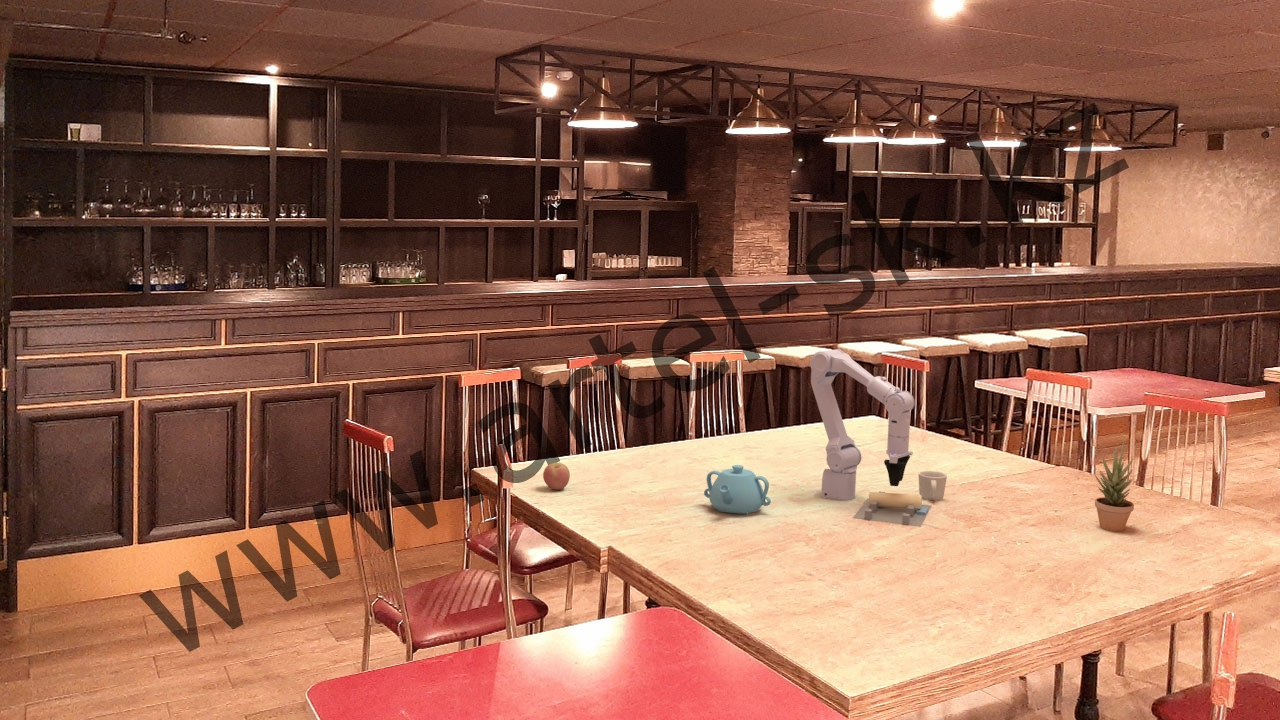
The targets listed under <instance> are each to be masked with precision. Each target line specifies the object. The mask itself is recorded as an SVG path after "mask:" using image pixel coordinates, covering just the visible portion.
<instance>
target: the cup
mask: <svg viewBox="0 0 1280 720" xmlns="http://www.w3.org/2000/svg"><path fill="white" fill-rule="evenodd" d="M947 478H948V475H947V474H946V473H944V472H942V471H938V470H937V471H935V470H922V471H919V472H918V488H919V489H918V490H919V491H918V492H919V494H918V495H921V496H922V500H925V501H926V500H927V501H941V502H942V501H943V500H944V496H945V490H946V484H947Z"/></svg>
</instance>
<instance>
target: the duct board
mask: <svg viewBox="0 0 1280 720" xmlns="http://www.w3.org/2000/svg"><path fill="white" fill-rule="evenodd" d="M878 492H880V493H886V491H878ZM931 508H932V505H928V504H922V506H921V509H915V506H914V505H909V506H908V507H907V508H891V507H878V501H872V502H871V503H870V506H869V502H868V498H867V499H866V500H865V502H863V504H862V505H861V506H860V507H859V509H858V510H857V512H856V513H854V515H853V516H852V519H857V520H865V521H871V522H881V523H888V524H895V525H903V526H904V525H905V526H913V527H918V528H920V527H922V525H923V523H924V522H925V520H926V517H927V515H928V513H929V512H930V510H931Z"/></svg>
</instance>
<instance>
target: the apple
mask: <svg viewBox="0 0 1280 720" xmlns="http://www.w3.org/2000/svg"><path fill="white" fill-rule="evenodd" d="M570 476H571V474H570V470H569V468H568V466H567V465H566V464H564V463H562V462H552V463H550V464H548V465H546V467H545V468H544V470H543V473H542V478H543V481H544V483H545V484H546V486H547V487H548V488H550V489H552V490H555V491H561V490H563V489H565V488H566V487H567V485H568V484H569V482H570Z"/></svg>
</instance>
